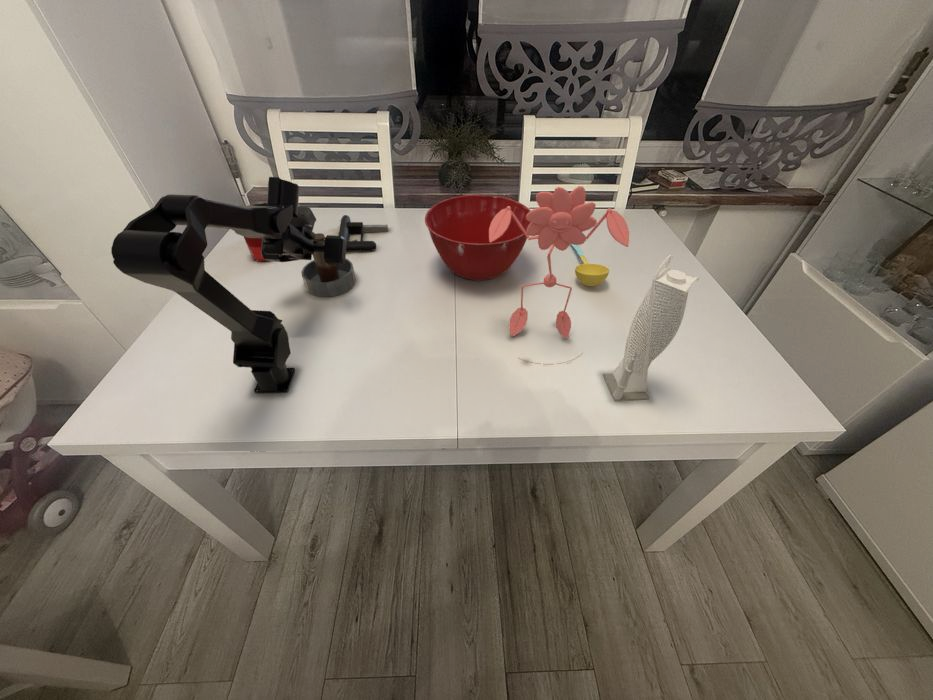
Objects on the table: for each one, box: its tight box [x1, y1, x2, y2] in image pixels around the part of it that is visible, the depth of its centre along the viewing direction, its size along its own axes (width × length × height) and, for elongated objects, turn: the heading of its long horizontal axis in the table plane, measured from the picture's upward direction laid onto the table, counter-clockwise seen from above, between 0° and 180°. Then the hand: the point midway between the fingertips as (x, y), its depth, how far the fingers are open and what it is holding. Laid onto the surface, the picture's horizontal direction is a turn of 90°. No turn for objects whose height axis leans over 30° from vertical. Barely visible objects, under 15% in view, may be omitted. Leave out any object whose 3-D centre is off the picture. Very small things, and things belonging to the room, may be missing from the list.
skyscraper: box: [602, 253, 700, 402], centre depth 70 cm, size 8×8×28 cm
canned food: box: [243, 236, 268, 263], centre depth 111 cm, size 8×8×11 cm
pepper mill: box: [312, 232, 340, 282], centre depth 100 cm, size 5×5×14 cm
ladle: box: [570, 244, 611, 287], centre depth 111 cm, size 9×26×6 cm, turn 1°
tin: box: [301, 258, 357, 299], centre depth 103 cm, size 13×13×4 cm
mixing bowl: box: [424, 194, 531, 281], centre depth 106 cm, size 28×28×15 cm
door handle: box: [338, 214, 389, 252], centre depth 123 cm, size 3×20×16 cm
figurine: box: [489, 185, 630, 366], centre depth 77 cm, size 15×26×35 cm, turn 83°
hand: (319, 258), depth 97 cm, fingers open, 9 cm apart
